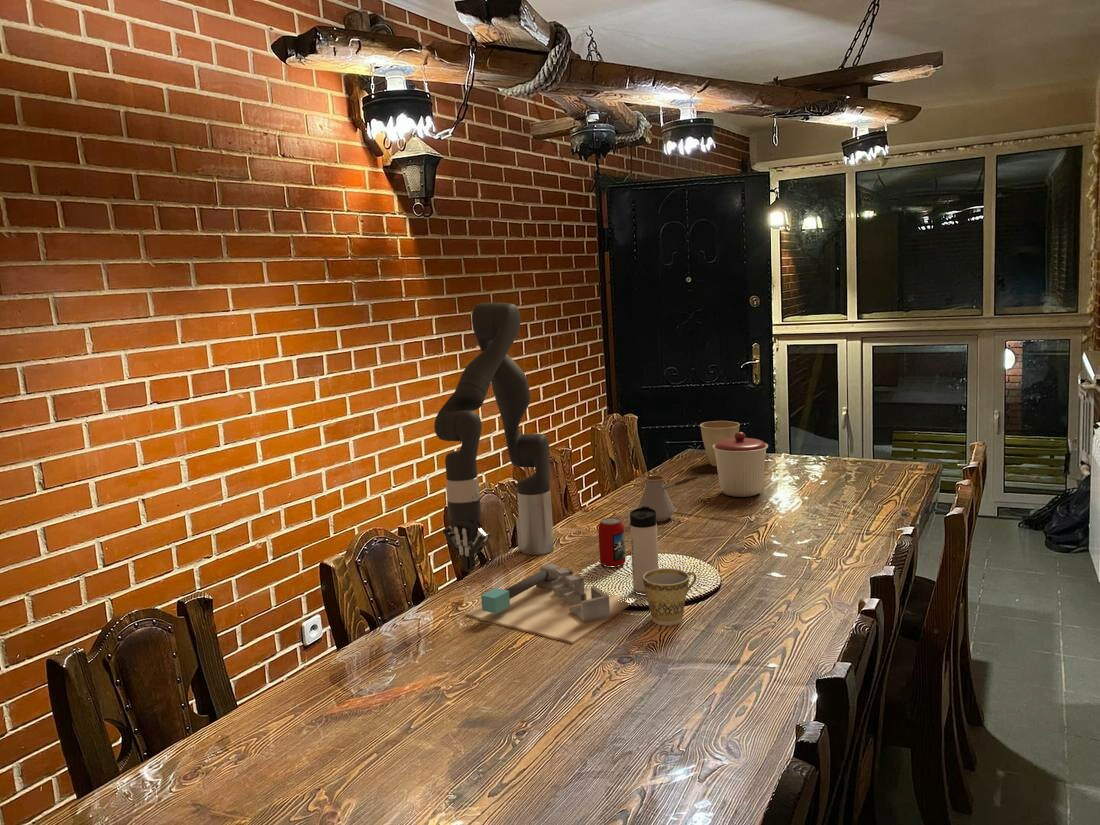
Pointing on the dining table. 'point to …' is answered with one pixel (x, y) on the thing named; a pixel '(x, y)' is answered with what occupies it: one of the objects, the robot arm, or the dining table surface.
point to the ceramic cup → (667, 594)
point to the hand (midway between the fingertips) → (469, 570)
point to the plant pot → (717, 435)
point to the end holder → (593, 607)
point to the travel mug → (643, 545)
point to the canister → (740, 465)
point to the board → (547, 613)
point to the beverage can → (611, 542)
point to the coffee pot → (660, 496)
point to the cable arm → (515, 589)
